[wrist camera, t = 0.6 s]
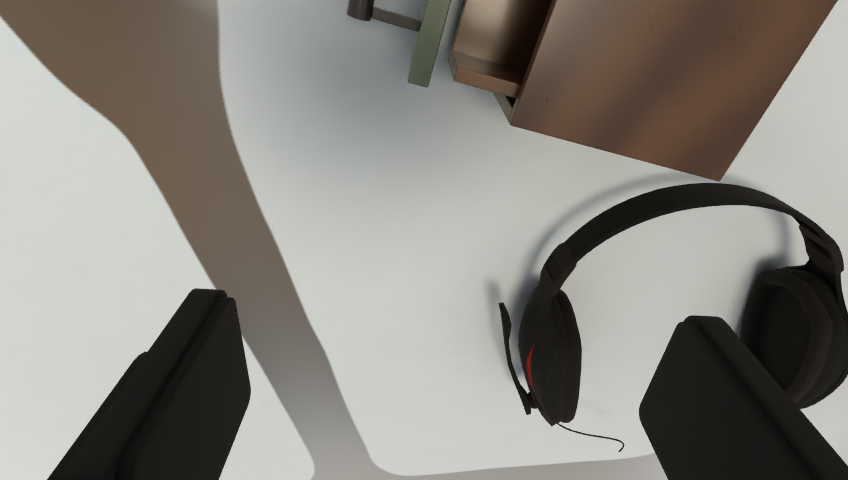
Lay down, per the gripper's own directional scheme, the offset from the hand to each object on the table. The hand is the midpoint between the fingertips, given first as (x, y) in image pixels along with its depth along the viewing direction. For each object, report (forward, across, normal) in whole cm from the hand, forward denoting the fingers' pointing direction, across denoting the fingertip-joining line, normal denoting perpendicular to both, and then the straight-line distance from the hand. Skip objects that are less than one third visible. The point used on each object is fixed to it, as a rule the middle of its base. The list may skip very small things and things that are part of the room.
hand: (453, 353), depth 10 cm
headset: (+27, -22, +20) cm, 40 cm away
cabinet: (+27, -12, -4) cm, 30 cm away
